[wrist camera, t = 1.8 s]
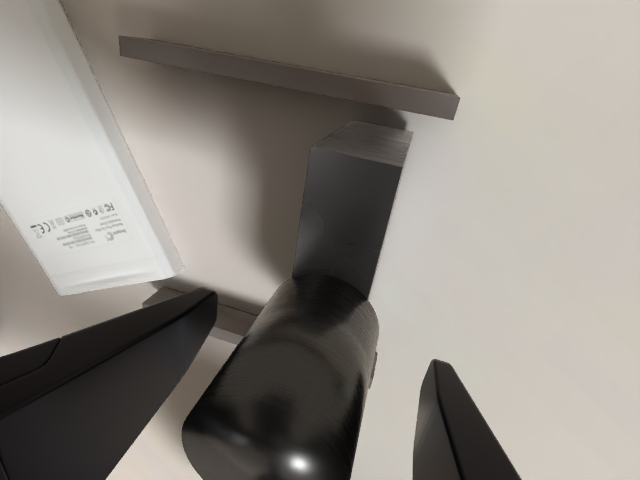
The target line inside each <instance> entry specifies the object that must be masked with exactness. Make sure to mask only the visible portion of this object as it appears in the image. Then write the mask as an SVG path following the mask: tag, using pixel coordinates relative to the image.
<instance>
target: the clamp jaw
mask: <svg viewBox="0 0 640 480" xmlns="http://www.w3.org/2000/svg"><path fill="white" fill-rule="evenodd" d="M412 135H413V132H410V131H405V130H401V129H396V128H391V127H386V126H381V125H376V124H371V123H366V122H361V121H356V120H353V121H351V122H350V123H348V124H346V125H345V126H343V127H342V128H340V129H338V130H337V131H335V132H333V133H332V134H330V135H329V136H327V137H325V138H324V139H322V140H321V141H319V142H317V143H316V144H314V145H312V146H311V147H310V153H309V160H308V167H307V174H306V181H305V188H304V195H303V202H302V209H301V217H300V224H299V231H298V238H297V245H296V252H295V259H294V266H293V274H292V278H291V279H289V280H287V281H286V282H284V283H283V284H282V285H281V286H280V287H279V288H278V289H277V290H276V292H275V293H274V294H273V296H272V297H271V299H270V300H269V301H268V303H267V304H266V306H265V307H264V309H263V310H262V311H261V313H260V314H259V316H258V317H257V318H256V320H255V321H254V323H253V324H252V326H251V327H250V328H249V330H248V331H247V333H246V334H245V335H244V337H243V338H242V340H241V341H240V342H239V344H238V345H237V347H236V348H235V350H234V351H233V352H232V354H231V355H230V357H229V358H228V359H227V361H226V362H225V364H224V365H223V367H222V368H221V369H220V371H219V372H218V374H217V375H216V376H215V378H214V379H213V381H212V382H211V384H210V385H209V386H208V388H207V389H206V391H205V392H204V393H203V395H202V396H201V398H200V399H199V400H198V402H197V403H196V405H195V406H194V408H193V409H192V410H191V412H190V413H189V415H188V416H187V418H186V420H185V421H184V424H183V427H182V443H183V447H184V450H185V453H186V455H187V457H188V459H189V461H190V463H191V464H192V466H193V467H194V469H195V470H196V472H197V473H198V474H199V475H200V476H201V478H202V479H203V480H350V478H351V473H352V467H353V462H354V457H355V452H356V447H357V442H358V437H359V432H360V427H361V422H362V417H363V412H364V407H365V402H366V396H367V391H368V386H369V381H370V376H371V371H372V366H373V361H374V356H375V351H376V346H377V341H378V336H379V324H378V319H377V316H376V313H375V311H374V309H373V307H372V306H371V304H370V302H369V301H368V300H369V297H370V293H371V289H372V285H373V281H374V278H375V274H376V270H377V266H378V263H379V259H380V255H381V251H382V248H383V244H384V240H385V236H386V233H387V229H388V225H389V221H390V217H391V214H392V210H393V206H394V202H395V199H396V195H397V191H398V187H399V184H400V180H401V176H402V172H403V168H404V165H405V161H406V157H407V153H408V150H409V146H410V142H411V138H412Z"/></svg>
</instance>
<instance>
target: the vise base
mask: <svg viewBox="0 0 640 480" xmlns="http://www.w3.org/2000/svg"><path fill="white" fill-rule="evenodd" d="M119 46H120V56H124V57H129V58H135V59H140V60H145V61H150V62H155V63H160V64H166V65H171V66H176V67H181V68H186V69H191V70H197V71H202V72H207V73H212V74H217V75H222V76H227V77H233V78H238V79H243V80H248V81H253V82H258V83H264V84H269V85H274V86H279V87H284V88H289V89H295V90H300V91H305V92H310V93H315V94H320V95H326V96H331V97H336V98H341V99H346V100H351V101H356V102H362V103H367V104H372V105H377V106H382V107H387V108H393V109H398V110H403V111H408V112H413V113H418V114H424V115H429V116H434V117H439V118H444V119H449V120H454V116H455V113H456V110H457V107H458V103H459V100H460V97H459V96H457V95H455V94H449V93H444V92H438V91H433V90H427V89H422V88H416V87H411V86H405V85H400V84H394V83H389V82H383V81H378V80H372V79H366V78H361V77H355V76H350V75H344V74H339V73H333V72H328V71H322V70H317V69H311V68H306V67H300V66H295V65H289V64H284V63H278V62H273V61H267V60H262V59H256V58H251V57H245V56H240V55H234V54H229V53H223V52H218V51H212V50H207V49H201V48H196V47H190V46H185V45H179V44H174V43H168V42H163V41H157V40H152V39H144V38H136V37H127V36H119ZM182 294H185V293H182V292H179V291H176V290H173V289H169V288H166V287H162V288H161V289H160V290H158V291H157V292H156V293H155V294H153V295H152V296H151V297H150V298H148V299H147V300H146V301H145V302H143V308H145V307H148V306H150V305H153V304H156V303H159V302H162V301H165V300H168V299H170V298H173V297H176V296H179V295H182ZM257 317H258V316H255V315H252V314H249V313H246V312H242V311H239V310H236V309H233V308H230V307H226V306H223V305H220V304H218V308H217V320H216V322H215V325H214V326H213V328H212V330H211V331H210V333H209V335H210V336H213V337H216V338H219V339H222V340H225V341H228V342H231V343H234V344H237V345H238V344H239V342H240V341H241V340H242V338H243V337H244V335H245V334H246V333H247V331H248V330H249V328H250V327H251V326H252V324H253V323H254V321H255V320H256V318H257ZM376 360H377V354H375V356H374V361H373V366H372V371H371V376H370V381H369V386H368V388H369V389H370V387H371V383H372V380H373V376H374V370H375V365H376Z"/></svg>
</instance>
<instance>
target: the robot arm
mask: <svg viewBox="0 0 640 480" xmlns="http://www.w3.org/2000/svg"><path fill="white" fill-rule="evenodd" d="M217 308H218V295H217V292H216V291H213V290H210V289H207V288H199V289H196V290H193V291H190V292H188V293H185V294H182V295H179V296H176V297H173V298H170V299H168V300H165V301H162V302H159V303H156V304H153V305H150V306H148V307H145V308H142V309H139V310H136V311H133V312H131V313H128V314H125V315H122V316H119V317H116V318H113V319H111V320H108V321H105V322H102V323H99V324H96V325H93V326H91V327H88V328H85V329H82V330H79V331H76V332H73V333H70V334H68V335H65V336H63V337H62V338H56V339H53V340H50V341H47V342H45V343H42V344H39V345H36V346H33V347H30V348H27V349H24V350H21V351H18V352H15V353H12V354H8V355H5V356H2V357H0V480H106V478H107V477H108V476H109V474H110V473H111V472H112V470H113V469H114V468H115V466H116V465H117V464H118V462H119V461H120V460H121V458H122V457H123V456H124V454H125V453H126V452H127V450H128V449H129V448H130V446H131V445H132V444H133V442H134V441H135V440H136V438H137V437H138V436H139V434H140V433H141V432H142V430H143V429H144V428H145V426H146V425H147V424H148V422H149V421H150V420H151V418H152V417H153V416H154V414H155V413H156V412H157V410H158V409H159V408H160V406H161V405H162V404H163V402H164V401H165V400H166V398H167V397H168V396H169V394H170V393H171V392H172V390H173V389H174V388H175V386H176V385H177V384H178V382H179V381H180V380H181V378H182V377H183V376H184V374H185V373H186V371H187V370H188V368H189V366H190V365H191V363H192V362H193V360H194V358H195V357H196V355H197V353H198V352H199V350H200V348H201V346H202V345H203V343H204V341H205V340H206V338H207V336H208V335H209V333H210V331H211V330H212V328H213V326H214V325H215V322H216V320H217ZM413 480H522V479H521V478H520V476H519V475H518V473H517V471H516V470H515V468H514V466H513V465H512V463H511V462H510V460H509V458H508V457H507V455H506V453H505V452H504V450H503V449H502V447H501V445H500V444H499V442H498V440H497V439H496V437H495V436H494V434H493V432H492V431H491V429H490V427H489V426H488V424H487V422H486V421H485V419H484V418H483V416H482V414H481V413H480V411H479V409H478V408H477V406H476V405H475V403H474V401H473V400H472V398H471V396H470V395H469V393H468V392H467V390H466V388H465V387H464V385H463V383H462V382H461V380H460V379H459V377H458V375H457V374H456V372H455V370H454V369H453V367H452V366H451V365H450V364H449V363H447V362H444V361H440V360H437V359H433V360H432V361H431V363H430V365H429V367H428V370H427V372H426V375H425V377H424V380H423V383H422V386H421V391H420V398H419V407H418V415H417V423H416V431H415V439H414V449H413Z"/></svg>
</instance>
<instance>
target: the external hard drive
mask: <svg viewBox="0 0 640 480" xmlns="http://www.w3.org/2000/svg"><path fill="white" fill-rule="evenodd" d="M0 203H1V204H2V206H3V207H4V209H5V211H6V212H7V214H8V215H9V217H10V218H11V220H12V222H13V223H14V225H15V226H16V228H17V229H18V231H19V232H20V234H21V236H22V237H23V239H24V240H25V242H26V243H27V245H28V246H29V248H30V250H31V251H32V253H33V254H34V256H35V257H36V259H37V261H38V262H39V264H40V265H41V267H42V268H43V270H44V272H45V273H46V275H47V276H48V278H49V280H50V282H51V283H52V285H53V286H54V288H55V289H56V291H57V292H58V294H59V295H60V296H66V295H72V294H78V293H83V292H89V291H95V290H101V289H107V288H113V287H119V286H125V285H131V284H138V283H143V282H150V281H155V280H162V279H166V278H170V277H173V276H175V275H176V274H178V273H179V272H180V271H181V270H183V269H184V268H185V266H184V264H183V262H182V260H181V258H180V256H179V253H178V251H177V249H176V247H175V245H174V243H173V241H172V238H171V236H170V234H169V232H168V230H167V228H166V226H165V224H164V222H163V219H162V217H161V215H160V213H159V211H158V209H157V207H156V205H155V202H154V200H153V198H152V196H151V194H150V192H149V190H148V188H147V186H146V183H145V181H144V179H143V177H142V175H141V173H140V171H139V169H138V166H137V164H136V162H135V160H134V158H133V156H132V154H131V152H130V150H129V147H128V145H127V143H126V141H125V139H124V137H123V135H122V133H121V131H120V128H119V126H118V124H117V122H116V120H115V118H114V116H113V114H112V112H111V109H110V107H109V105H108V103H107V101H106V99H105V97H104V95H103V92H102V90H101V88H100V86H99V84H98V82H97V80H96V77H95V75H94V73H93V71H92V69H91V67H90V65H89V63H88V61H87V59H86V56H85V54H84V52H83V50H82V48H81V46H80V44H79V42H78V40H77V38H76V35H75V33H74V31H73V29H72V27H71V25H70V23H69V21H68V19H67V16H66V14H65V12H64V10H63V8H62V6H61V4H60V2H59V0H0Z"/></svg>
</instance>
